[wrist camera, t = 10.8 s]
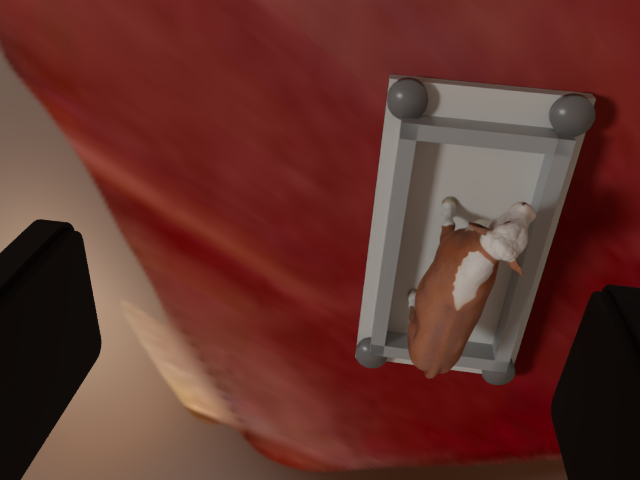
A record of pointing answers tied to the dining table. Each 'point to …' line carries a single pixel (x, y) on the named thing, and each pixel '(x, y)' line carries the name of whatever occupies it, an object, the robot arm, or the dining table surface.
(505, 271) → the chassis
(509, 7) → the dining table surface
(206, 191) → the dining table surface
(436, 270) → the bull figurine
